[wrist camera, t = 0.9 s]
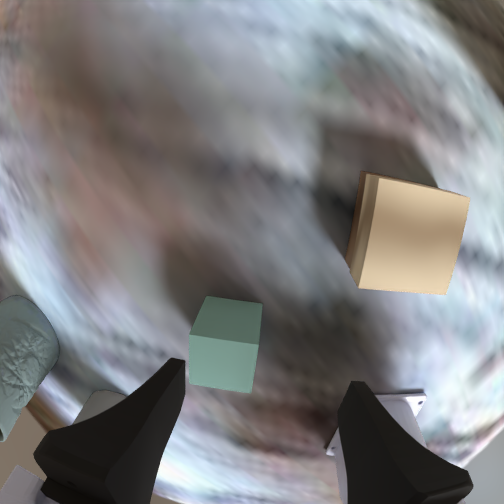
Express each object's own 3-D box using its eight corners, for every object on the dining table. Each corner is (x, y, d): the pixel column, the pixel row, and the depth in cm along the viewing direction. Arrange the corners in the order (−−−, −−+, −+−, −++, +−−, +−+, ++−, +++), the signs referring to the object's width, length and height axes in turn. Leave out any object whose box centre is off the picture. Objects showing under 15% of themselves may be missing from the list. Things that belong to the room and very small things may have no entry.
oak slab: (430, 279, 18) (445, 294, 16) (349, 271, 18) (358, 288, 16) (450, 191, 16) (470, 198, 14) (366, 173, 16) (379, 178, 14)
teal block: (255, 348, 23) (251, 393, 18) (204, 340, 23) (189, 383, 18) (262, 303, 21) (258, 344, 17) (206, 295, 22) (189, 334, 17)
